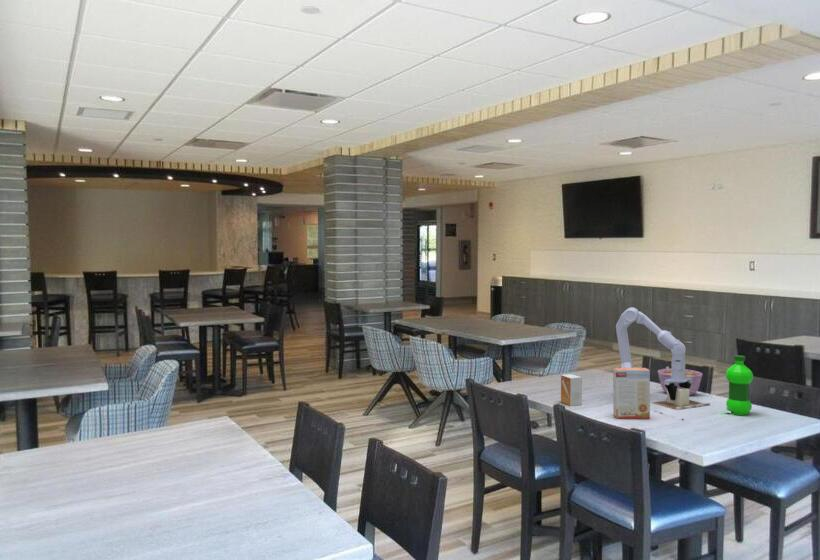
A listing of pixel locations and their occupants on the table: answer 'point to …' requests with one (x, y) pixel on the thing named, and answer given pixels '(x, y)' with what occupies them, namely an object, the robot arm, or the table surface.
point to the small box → (571, 389)
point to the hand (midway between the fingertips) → (677, 399)
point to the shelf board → (676, 407)
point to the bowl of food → (695, 376)
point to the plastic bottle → (739, 387)
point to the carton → (680, 397)
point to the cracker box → (631, 393)
